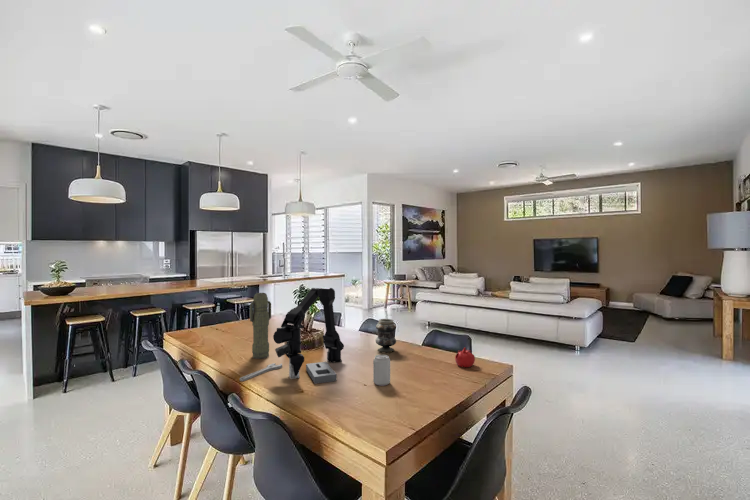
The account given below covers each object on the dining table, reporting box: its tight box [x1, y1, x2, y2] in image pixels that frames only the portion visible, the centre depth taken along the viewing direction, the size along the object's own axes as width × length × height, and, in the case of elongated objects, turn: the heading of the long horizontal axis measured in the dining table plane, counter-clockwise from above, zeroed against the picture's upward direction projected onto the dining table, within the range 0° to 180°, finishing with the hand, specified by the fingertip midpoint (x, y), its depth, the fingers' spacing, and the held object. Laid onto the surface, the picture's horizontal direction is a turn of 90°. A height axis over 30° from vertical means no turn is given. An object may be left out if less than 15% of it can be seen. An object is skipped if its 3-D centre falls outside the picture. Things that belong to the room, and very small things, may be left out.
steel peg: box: [288, 360, 300, 380], centre depth 174 cm, size 4×4×8 cm
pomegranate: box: [454, 347, 476, 368], centre depth 191 cm, size 10×10×9 cm
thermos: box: [249, 292, 272, 360], centre depth 207 cm, size 9×12×35 cm
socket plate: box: [305, 361, 338, 385], centre depth 177 cm, size 10×20×3 cm, turn 21°
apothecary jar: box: [375, 318, 397, 353], centre depth 219 cm, size 12×12×18 cm
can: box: [372, 354, 391, 387], centre depth 166 cm, size 8×8×12 cm
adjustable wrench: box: [239, 362, 283, 382], centre depth 181 cm, size 25×6×2 cm, turn 147°
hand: (294, 372), depth 174 cm, fingers open, 9 cm apart
